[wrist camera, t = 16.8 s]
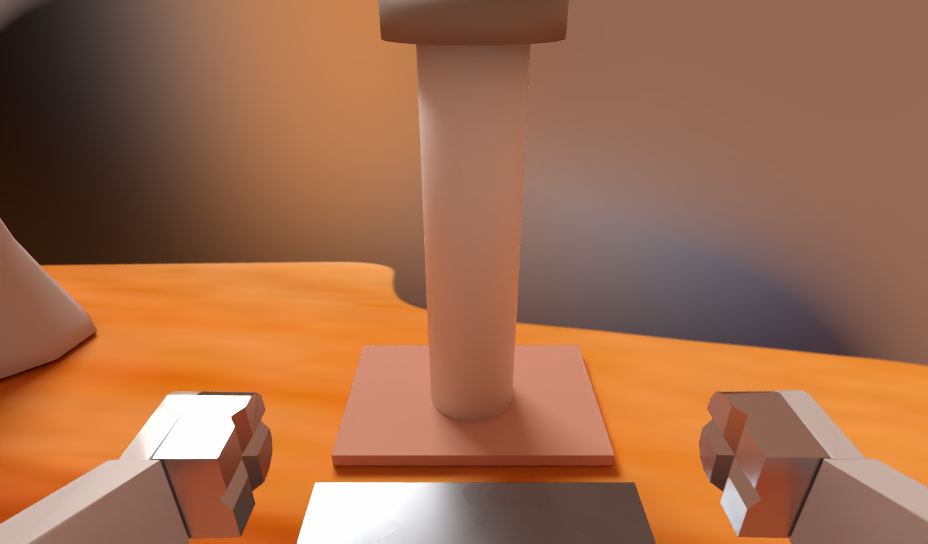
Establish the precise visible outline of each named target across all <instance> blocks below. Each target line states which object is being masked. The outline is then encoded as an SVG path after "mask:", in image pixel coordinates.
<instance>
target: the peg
mask: <svg viewBox="0 0 928 544" xmlns="http://www.w3.org/2000/svg"><path fill="white" fill-rule="evenodd" d="M568 2H569V0H379V15H380V28H381V39H382V40H384V41H390V42H398V43H408V44H416V48H417V69H418V70H417V72H418V96H419V121H420V145H421V166H422V167H421V168H422V193H423V216H424V241H425V266H426V287H427V289H426V290H427V314H428V338H429V363H430V387H431V399H432V402H433V404H434V406H435V407H436V408H437V409H438V410H439V411H440V412H441V413H442V414H444V415H445V416H447V417H450V418H452V419H455V420H459V421H465V422H479V421H485V420H489V419H492V418H494V417H496V416H498V415H500V414H501V413H503V412H504V411H505V410H506V409H507V408H508V407H509V405H510V403H511V401H512V394H513V374H514V354H515V335H516V315H517V293H518V275H519V256H520V255H519V254H520V237H521V217H522V196H523V177H524V158H525V138H526V137H525V136H526V119H527V118H526V117H527V99H528V79H529V60H530V44H536V43H547V42H556V41H561V40H564V39H566V29H567V16H568V4H569V3H568Z"/></svg>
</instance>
